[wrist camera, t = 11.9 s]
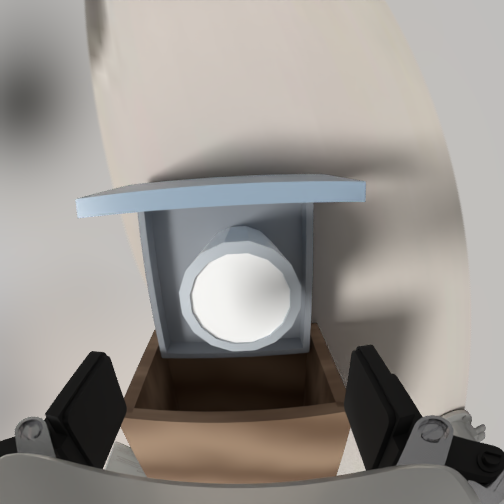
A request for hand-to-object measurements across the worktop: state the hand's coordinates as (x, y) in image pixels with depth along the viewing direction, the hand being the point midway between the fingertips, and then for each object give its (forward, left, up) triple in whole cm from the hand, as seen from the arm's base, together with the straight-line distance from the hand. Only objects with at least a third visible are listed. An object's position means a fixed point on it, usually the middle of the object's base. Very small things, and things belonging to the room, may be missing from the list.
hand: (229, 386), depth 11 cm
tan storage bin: (0, +13, -15) cm, 20 cm away
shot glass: (0, 0, -14) cm, 14 cm away
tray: (0, 0, -14) cm, 14 cm away
